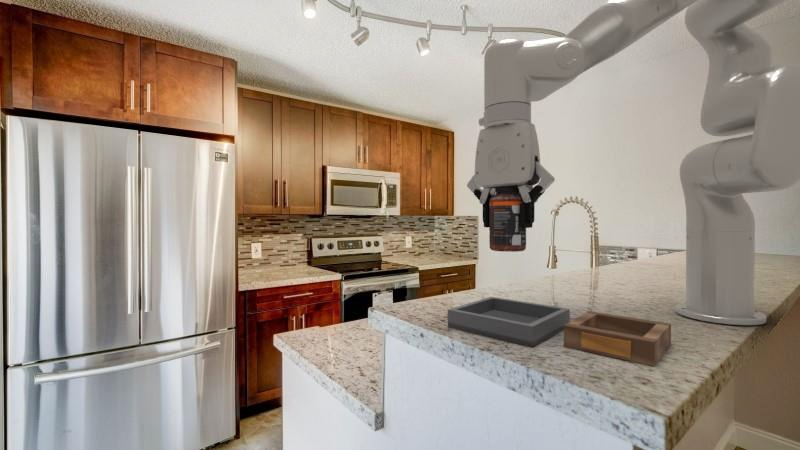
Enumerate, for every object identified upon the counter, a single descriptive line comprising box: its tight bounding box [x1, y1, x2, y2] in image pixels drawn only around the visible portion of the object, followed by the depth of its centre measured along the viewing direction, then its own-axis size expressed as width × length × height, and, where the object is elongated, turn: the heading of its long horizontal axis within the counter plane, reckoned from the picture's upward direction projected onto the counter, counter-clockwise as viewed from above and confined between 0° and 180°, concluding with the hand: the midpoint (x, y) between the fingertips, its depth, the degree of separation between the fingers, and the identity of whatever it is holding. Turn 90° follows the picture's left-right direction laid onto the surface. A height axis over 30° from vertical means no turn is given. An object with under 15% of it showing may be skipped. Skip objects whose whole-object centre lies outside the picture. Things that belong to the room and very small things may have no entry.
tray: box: [447, 296, 571, 348], centre depth 64 cm, size 14×15×3 cm
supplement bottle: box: [488, 185, 527, 253], centre depth 64 cm, size 6×6×11 cm
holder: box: [563, 310, 672, 367], centre depth 55 cm, size 11×11×3 cm
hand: (507, 226), depth 64 cm, fingers closed on supplement bottle, 6 cm apart
